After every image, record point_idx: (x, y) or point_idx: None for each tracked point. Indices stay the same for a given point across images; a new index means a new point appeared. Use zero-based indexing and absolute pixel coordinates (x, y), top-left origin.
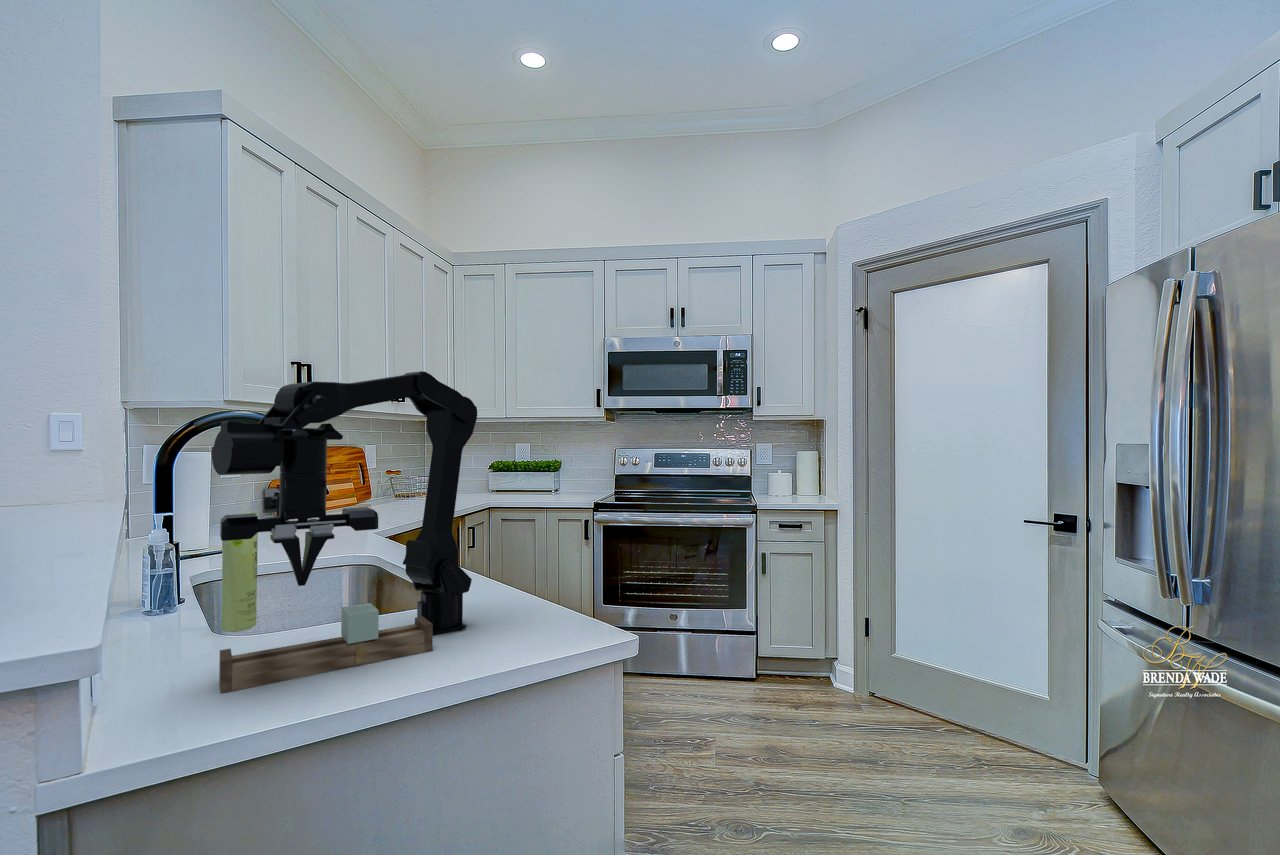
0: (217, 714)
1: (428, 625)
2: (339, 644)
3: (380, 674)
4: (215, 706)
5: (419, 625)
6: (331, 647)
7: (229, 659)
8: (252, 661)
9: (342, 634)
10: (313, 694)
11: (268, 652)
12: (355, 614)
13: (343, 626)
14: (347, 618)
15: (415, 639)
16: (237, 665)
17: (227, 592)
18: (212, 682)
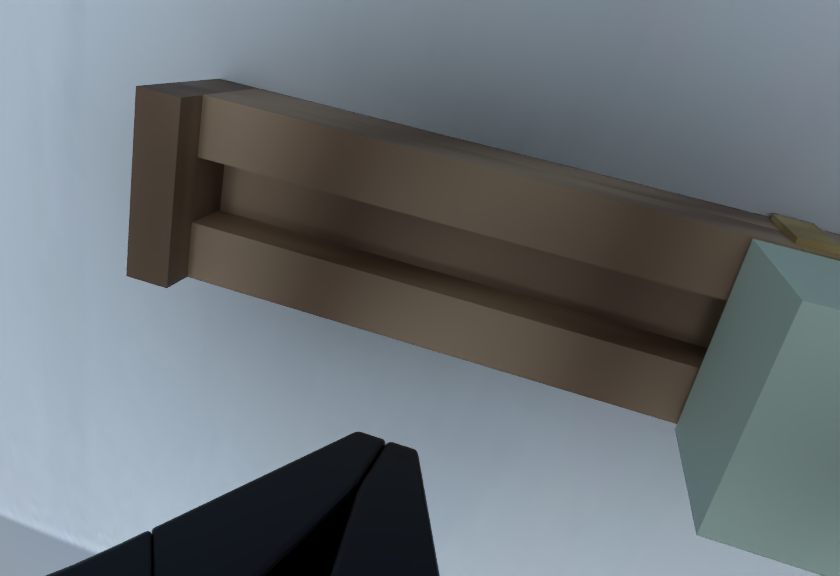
0: (177, 412)
1: None
2: (659, 362)
3: (708, 543)
4: (179, 344)
5: None
6: (603, 376)
7: (156, 281)
8: (264, 268)
9: (739, 281)
10: (438, 507)
11: (350, 193)
12: (745, 546)
13: (739, 331)
14: (703, 491)
15: None
16: (207, 269)
17: None
18: (198, 74)
